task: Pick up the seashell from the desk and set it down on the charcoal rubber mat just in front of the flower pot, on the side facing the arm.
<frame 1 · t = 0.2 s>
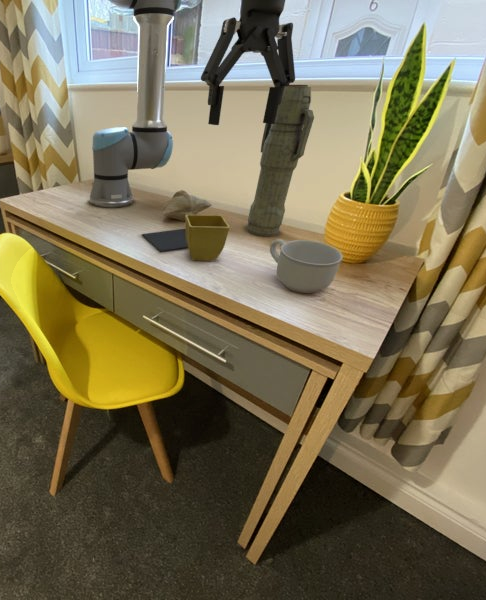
hand: (241, 124, 68), 28 cm above the table, tool pointing down, fingers open, 13 cm apart
seashell: (181, 219, 103), on the table
thermos: (262, 231, 94), on the table
flower pot: (201, 257, 79), on the table
mat: (177, 239, 88), on the table
teacup: (293, 283, 69), on the table
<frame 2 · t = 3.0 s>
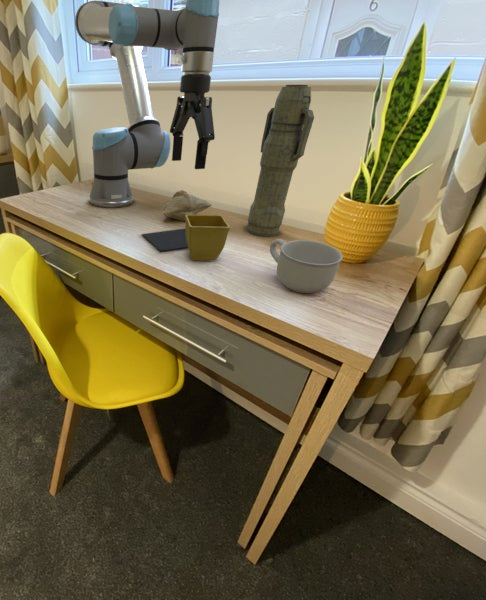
hand: (187, 164, 94), 16 cm above the table, tool pointing down, fingers open, 13 cm apart
nothing on the table moved.
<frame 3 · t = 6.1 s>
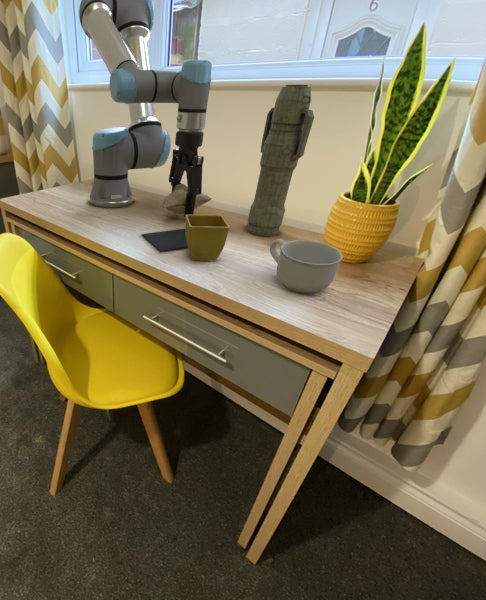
hand: (181, 211, 102), 2 cm above the table, tool pointing down, fingers closed on seashell, 8 cm apart
seashell: (181, 213, 102), point 2 cm above the table, touching gripper
everything else where it was.
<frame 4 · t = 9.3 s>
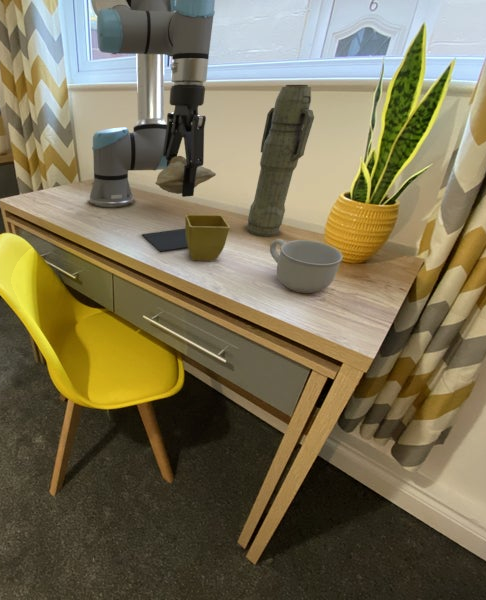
hand: (178, 191, 83), 12 cm above the table, tool pointing down, fingers closed on seashell, 8 cm apart
seashell: (178, 193, 83), point 12 cm above the table, touching gripper
everything else where it was.
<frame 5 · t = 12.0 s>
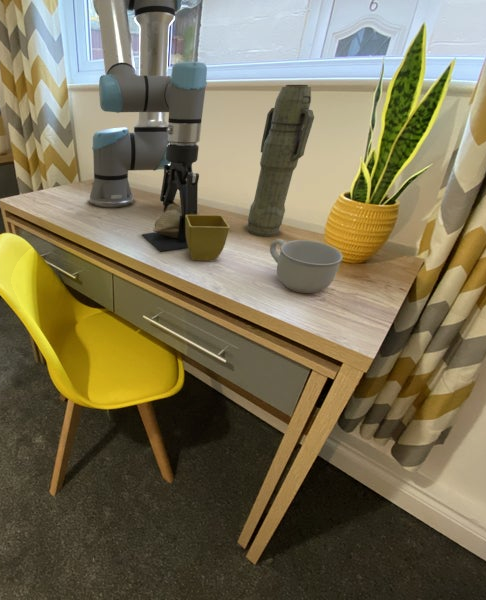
hand: (174, 234, 89), 1 cm above the table, tool pointing down, fingers closed on seashell, 8 cm apart
seashell: (174, 236, 90), resting on mat, touching gripper
everything else where it was.
when the fingers open (1 cm above the table, at t = 12.3 s): seashell stays where it is, resting on mat.
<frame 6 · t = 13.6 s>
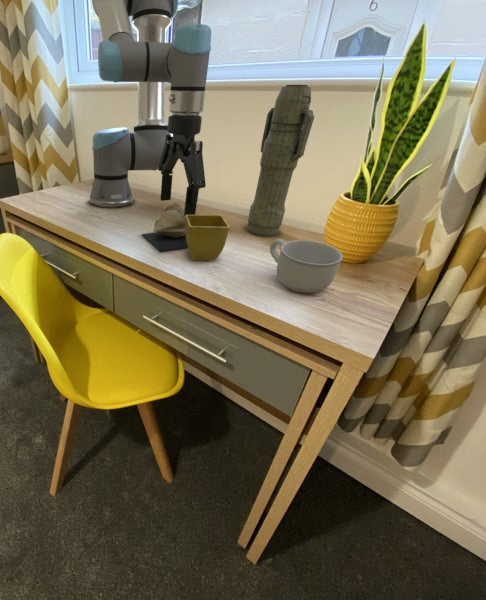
hand: (176, 207, 86), 8 cm above the table, tool pointing down, fingers open, 13 cm apart
seashell: (174, 236, 90), resting on mat
everything else where it was.
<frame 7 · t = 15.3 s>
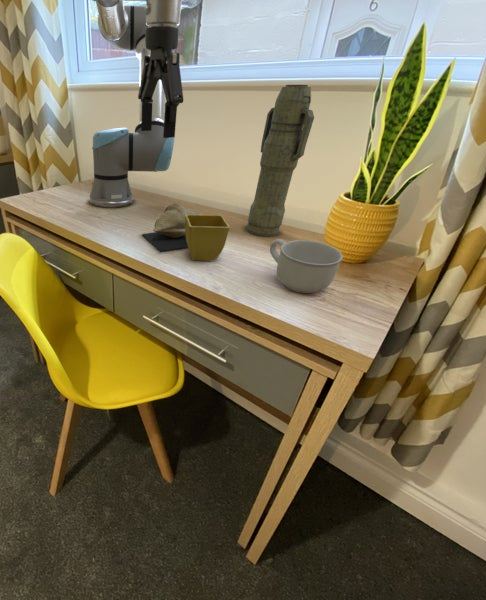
hand: (156, 134, 85), 24 cm above the table, tool pointing down, fingers open, 13 cm apart
nothing on the table moved.
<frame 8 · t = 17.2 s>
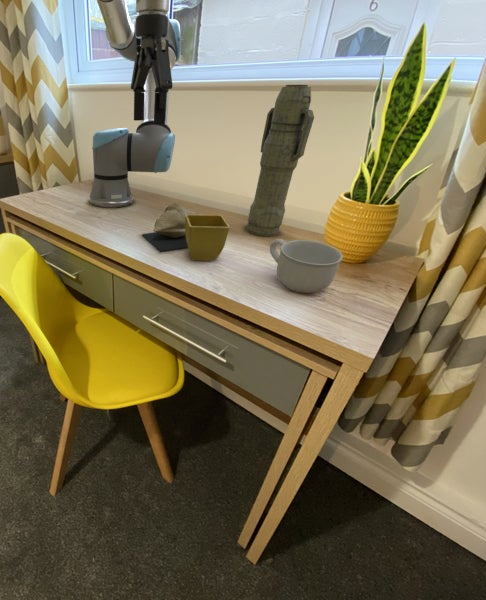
hand: (148, 122, 86), 27 cm above the table, tool pointing down, fingers open, 13 cm apart
nothing on the table moved.
at the end: seashell inside the target area on the table beside the flower pot (0.6 cm from its centre), resting on mat; seashell touching mat; flower pot moved 0.2 cm from its start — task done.
